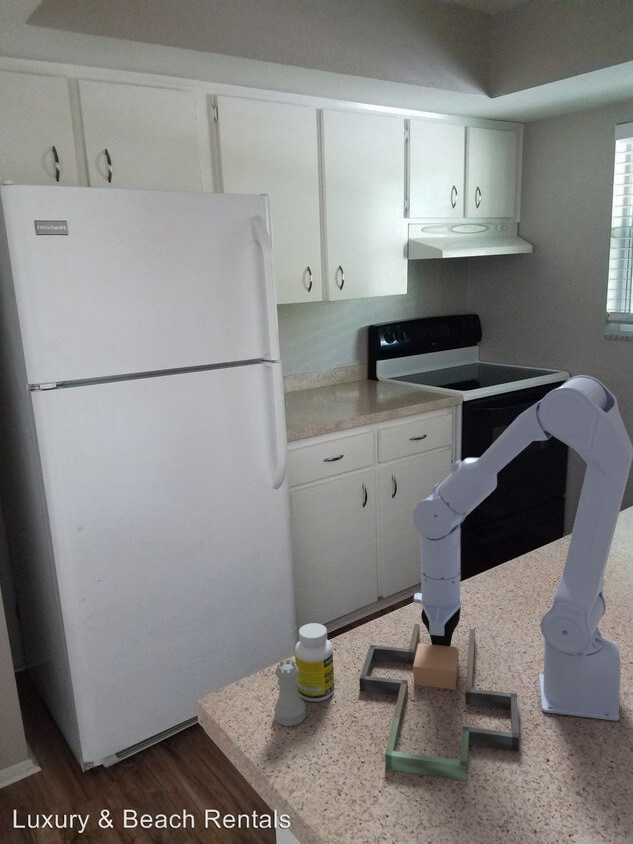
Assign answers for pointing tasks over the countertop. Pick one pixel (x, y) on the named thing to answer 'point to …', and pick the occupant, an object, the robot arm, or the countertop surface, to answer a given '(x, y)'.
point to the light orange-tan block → (436, 666)
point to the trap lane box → (469, 734)
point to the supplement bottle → (314, 663)
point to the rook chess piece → (289, 696)
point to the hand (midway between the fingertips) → (441, 652)
